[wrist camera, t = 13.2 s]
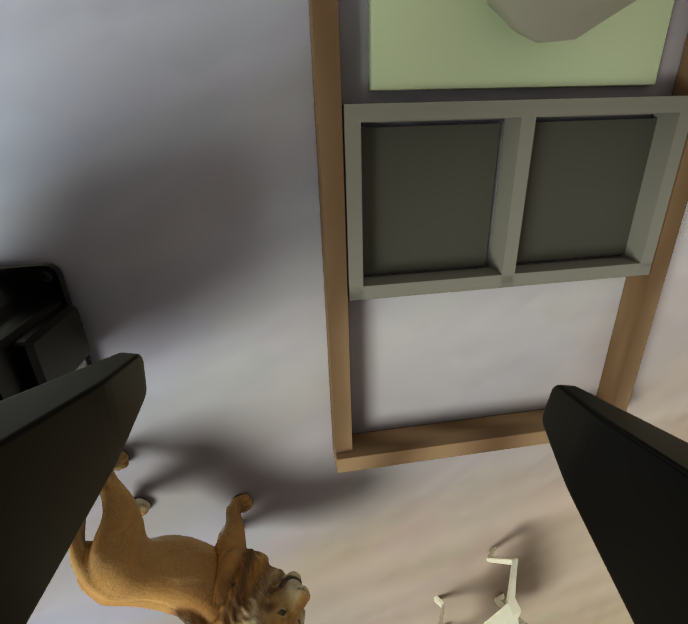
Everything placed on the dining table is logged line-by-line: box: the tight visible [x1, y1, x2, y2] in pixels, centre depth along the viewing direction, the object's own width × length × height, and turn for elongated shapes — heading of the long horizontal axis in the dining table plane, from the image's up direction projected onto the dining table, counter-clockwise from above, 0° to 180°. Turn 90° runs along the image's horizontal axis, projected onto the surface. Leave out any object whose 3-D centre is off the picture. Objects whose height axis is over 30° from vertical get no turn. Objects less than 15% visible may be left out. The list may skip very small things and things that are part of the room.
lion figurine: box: [69, 451, 310, 624], centre depth 22 cm, size 15×5×9 cm, turn 63°
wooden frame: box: [309, 0, 688, 473], centre depth 20 cm, size 19×30×2 cm, turn 2°
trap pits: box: [342, 96, 688, 301], centre depth 20 cm, size 17×9×2 cm, turn 91°
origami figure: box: [434, 546, 527, 624], centre depth 31 cm, size 12×8×5 cm
